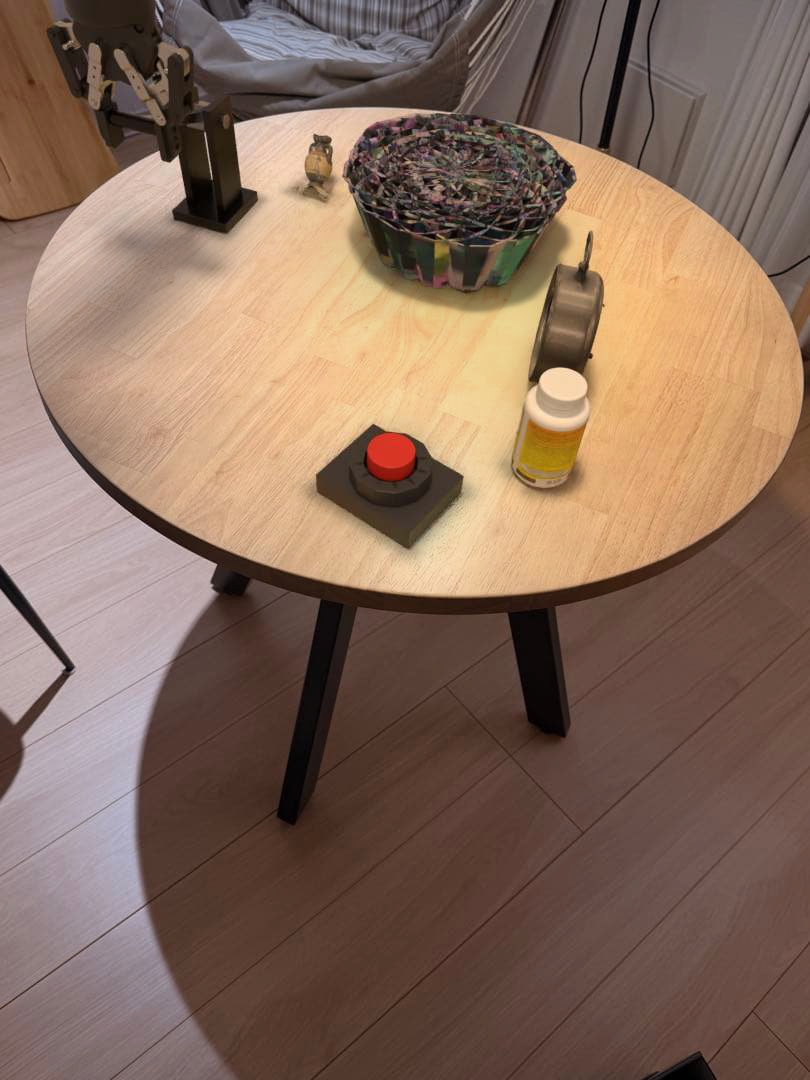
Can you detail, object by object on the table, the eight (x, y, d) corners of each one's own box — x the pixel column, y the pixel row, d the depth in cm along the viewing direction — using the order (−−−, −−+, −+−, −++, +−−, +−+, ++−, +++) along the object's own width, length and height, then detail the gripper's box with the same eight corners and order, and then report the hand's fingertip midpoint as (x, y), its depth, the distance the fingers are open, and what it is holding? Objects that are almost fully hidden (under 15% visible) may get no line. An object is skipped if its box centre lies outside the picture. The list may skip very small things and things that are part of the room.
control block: (461, 492, 70) (466, 461, 67) (407, 548, 66) (410, 519, 63) (372, 440, 73) (373, 408, 70) (316, 491, 69) (314, 460, 66)
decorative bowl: (563, 208, 102) (581, 128, 94) (553, 327, 84) (575, 239, 76) (369, 180, 103) (372, 99, 96) (318, 291, 85) (316, 202, 78)
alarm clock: (532, 342, 83) (566, 195, 70) (584, 351, 82) (627, 205, 69) (520, 413, 76) (554, 266, 63) (576, 423, 76) (622, 277, 63)
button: (423, 461, 67) (425, 447, 66) (395, 489, 65) (396, 475, 64) (386, 439, 68) (387, 425, 67) (357, 466, 66) (357, 452, 65)
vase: (312, 172, 101) (310, 124, 96) (349, 183, 99) (349, 136, 95) (290, 191, 98) (286, 143, 93) (328, 203, 96) (326, 155, 92)
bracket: (226, 234, 92) (210, 121, 81) (173, 219, 93) (150, 107, 83) (258, 200, 96) (246, 89, 86) (207, 187, 97) (189, 76, 87)
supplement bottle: (579, 486, 71) (608, 402, 63) (520, 495, 70) (542, 411, 62) (559, 442, 74) (584, 357, 66) (502, 449, 73) (520, 364, 65)
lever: (158, 144, 76) (157, 116, 74) (108, 131, 77) (107, 103, 75) (230, 132, 87) (231, 108, 86) (186, 121, 88) (186, 97, 87)
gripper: (-6, -54, 64) (59, 152, 77) (150, -21, 61) (188, 186, 75) (51, -81, 68) (102, 119, 82) (198, -51, 66) (226, 150, 79)
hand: (143, 150), depth 78 cm, fingers open, 5 cm apart
